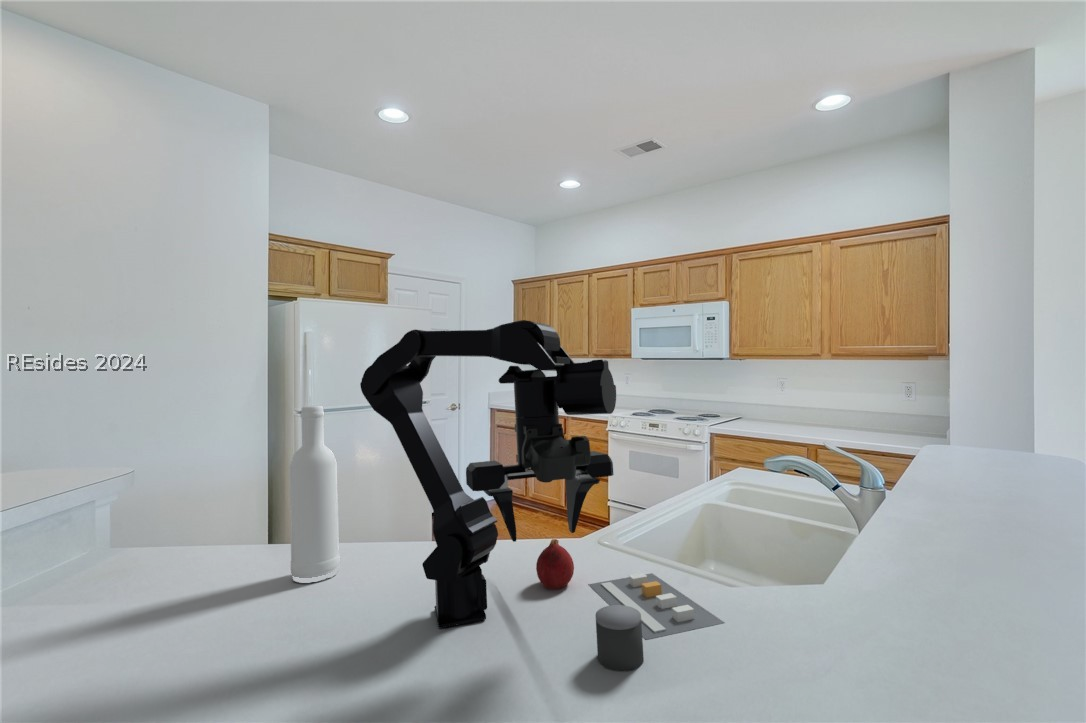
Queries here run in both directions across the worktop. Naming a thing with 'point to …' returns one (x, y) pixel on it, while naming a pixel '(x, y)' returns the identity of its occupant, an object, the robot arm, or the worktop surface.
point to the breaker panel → (656, 606)
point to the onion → (554, 566)
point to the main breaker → (651, 589)
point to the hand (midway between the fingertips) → (543, 536)
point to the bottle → (313, 501)
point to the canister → (619, 638)
